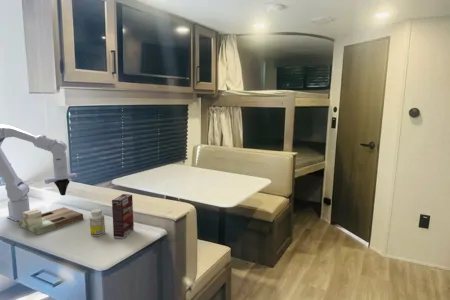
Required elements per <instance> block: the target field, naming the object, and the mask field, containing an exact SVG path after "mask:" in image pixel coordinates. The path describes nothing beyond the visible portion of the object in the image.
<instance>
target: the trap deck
mask: <svg viewBox="0 0 450 300" xmlns="http://www.w3.org/2000/svg"><path fill="white" fill-rule="evenodd" d="M41 215H42V223H38V224H35V225H32V226H28V225H26V224H24V219H22V220H19V221H18V222H19V226H20V227H21V228H24V229H26V230H28V231H30V232H32V233H34V234H36V235H41V234H45V233H47V232H49V231H52V230H56V229H58V228H62V227H64V226H67V225H70V224H74V223H75V222H79V221H82V220H84V213H81V212H78V211H76V210H73V209H70V208H66V207H60V208H56V209H53V210H50V211H46V212H44V213H43V212H42V213H41Z"/></svg>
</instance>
